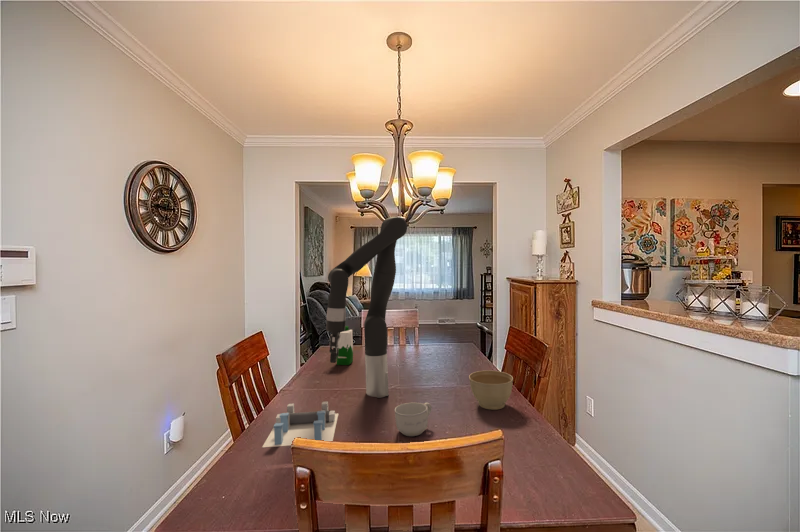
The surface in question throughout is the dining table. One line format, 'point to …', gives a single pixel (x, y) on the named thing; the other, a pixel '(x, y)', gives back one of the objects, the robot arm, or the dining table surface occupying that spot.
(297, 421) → the dark grey dowel
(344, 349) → the milk carton
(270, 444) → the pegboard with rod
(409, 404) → the teacup
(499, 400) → the planter bowl
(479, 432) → the dining table surface
